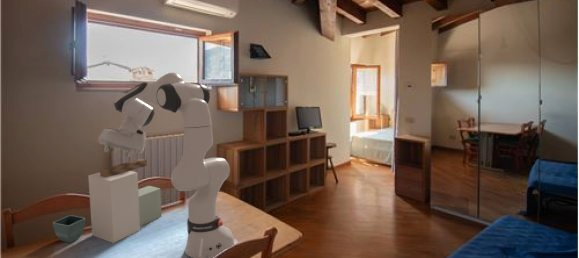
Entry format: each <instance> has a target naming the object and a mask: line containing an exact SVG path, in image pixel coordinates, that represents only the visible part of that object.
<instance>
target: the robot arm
mask: <svg viewBox="0 0 579 258" xmlns="http://www.w3.org/2000/svg"><path fill="white" fill-rule="evenodd" d="M210 95H211V94H210V90H209V89H208V87H207V86H206V85H204V84H202V83H197V82H189V83H188V82H185V81H184V79H183V77H182V76H181V75H180V74H179V73H176V72H168V73H165V74H164V75H163V76H161V77H159V78H158V79H157V80H155V81H153V82H141V83H139V84H137V85H135V86H134V87H131V88H130V89H128V90H126V91H122V92H121V93H120V94H118V95H117V96H116V98H115V99H114V102H113V105H114V108H115V110H116V111H118V112H119V113H122V114H124V115H125V116H124V118H123V121H122V123H121V124H120V125H119V127H118V129H115V128H111V127H108V128H107V127H106V128H103V130H102V131H101V133H100V135H99V136H98V138H97V140H98V143H99V144H100V145H102V146H103V145H104V149H103V152H104V153H108V152H109V151H110V150H109V147H112V148H116V149H120V150H124V151H127V152H125V156H124V157H125V158H128V159H130V156H132V155H134V154H135V153H137V154H143V152H144V150H145V146H146V140H147V134H146V132H145V131H143V130H141V127H142V128H143V127H145V126H146V127H147V126H148V125H149V124H150V123H151V122H152V120H153V117H154V116H155V113H156V112H155V109H154V107H152V106H151V105H150V104H148V103H151V104H153V105H155V106H160V108H161V109H163V110H166V111H169V112H172V113H176V112H178V111H179V112H180V113H181V114H182V120H183V121H182V122H183V137H184V139H183V142H184V146H183V147H184V148H183V153H182V155H181V158H180V160H179V162H178V164H177V165H176V166H175V167H174V168H173V169H172V172H171V175H170V181H171V184H172V186H173V187H174V188H175V189H176V190H177V191H179V192H188V191H189V192H190V191H194V190H196V191H195V192H194V193H193V194H192V196H191V197H190V198H189V199H188V202H187V206H188V208H187V209H188V211H187V212H188V213H187V215H188V218H187V220H186V222H187V223H186V231H187V240H186V245H185V249H184V253H185V254H186V256H188V257H190V258H213V257H215V256H216V255H217V254H219V253H220V252H222V251H223V250H225V249H227V248H229V247H231V246H232V245H234V244H236V243H239V241H238V240H237V238H235V237H234V235H233V232H232V231H231V229H229V227H227V226H225V225H224V223H223V221H222V219H221V217H220V216H219V215H218V214H217V215H216V213H217V212H216V211H217V209H216V208H217V200H218V195H219V192H220V189H221V188H222V185H223V184H224V182H225V181H226V180H227V178H229V176H230V173H231V168H230V164H229V162H228V161H227V160H226V159H225V158H223V157H209V158H205V156H206V154H207V153H208V151H209V150H211V148H212V146H213V144H214V137H213V136H214V135H213V123H212V116H211V111H210V106H209V102H210V99H211V96H210ZM143 100H144V101H146V102H148V103H146V102H144V101H143ZM128 151H129V152H128Z"/></svg>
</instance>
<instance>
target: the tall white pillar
mask: <svg viewBox="0 0 579 258" xmlns="http://www.w3.org/2000/svg"><path fill="white" fill-rule="evenodd" d="M138 173H139V172H136V171H133V170H130V171H127V172H123V173H120V174H116V175H113V176H110V177H102V176H101V175H100V171H99V172H96V173H92V174H89V175H87V178H88V190H89V191H88V194H89V207H90V220H91V221H90V222H91V235H92V236H93V237H96V238H98V239H101V240H104V241H107V242H110V243H112V244H114V243H117V242H118V241H121V240H123V239H125V238H127V237H129V236H131V235H133V234H135V233H137V232H140V231H141V226H140V218H139V194H138V189H139V174H138Z"/></svg>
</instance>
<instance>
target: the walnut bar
mask: <svg viewBox="0 0 579 258" xmlns="http://www.w3.org/2000/svg"><path fill="white" fill-rule="evenodd" d="M147 162H148V161H147V159H145V158H138V159H135V160H132V161H127V162H124V163H120V164H116V165H113V166H109V167H104V168H101V169H100V171H99V172H100V175H101V176H102V177H110V176H113V175H116V174H120V173H123V172H127V171H133V170H136V169H140V168H144V167H146V166H147V165H148V164H147Z"/></svg>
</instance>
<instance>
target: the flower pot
mask: <svg viewBox="0 0 579 258" xmlns="http://www.w3.org/2000/svg"><path fill="white" fill-rule="evenodd" d="M85 222H86V218H85V217H83V216H77V215H72V214H69V215H66V216H65V217H63V218H61V219H58V220H56V221H53V222H52V225H53V230H54V234H55V235H56V237H57V238H58V239H59V240H60V241H62V242H65V243H73V242H74V241H75V240H78V239H80V238H81V236H82V234H83V232H84V230H85Z"/></svg>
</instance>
